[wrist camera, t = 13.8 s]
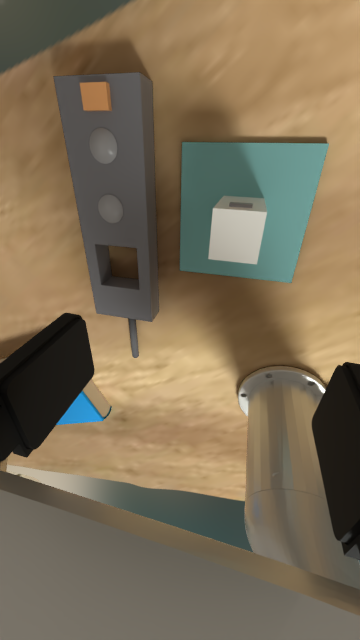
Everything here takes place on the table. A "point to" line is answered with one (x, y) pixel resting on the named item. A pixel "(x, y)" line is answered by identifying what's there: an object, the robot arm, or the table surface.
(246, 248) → the charger plug
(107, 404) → the book
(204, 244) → the mat
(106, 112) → the power strip
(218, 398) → the table surface
